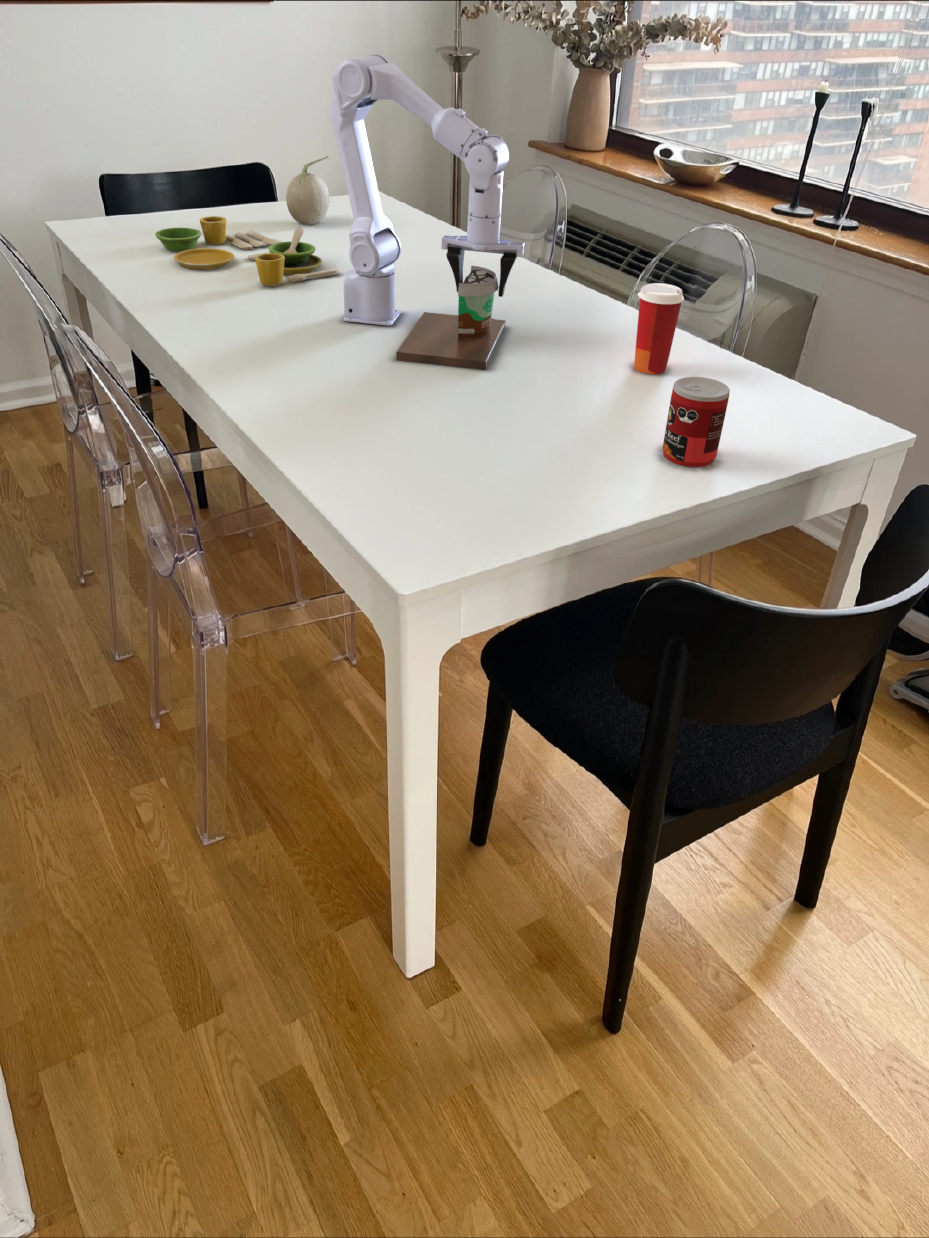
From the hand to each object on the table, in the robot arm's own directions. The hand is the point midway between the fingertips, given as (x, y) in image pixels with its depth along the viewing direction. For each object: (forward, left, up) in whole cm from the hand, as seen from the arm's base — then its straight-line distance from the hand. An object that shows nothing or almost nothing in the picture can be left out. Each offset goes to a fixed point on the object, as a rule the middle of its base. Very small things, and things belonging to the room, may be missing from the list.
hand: (480, 293), depth 178 cm
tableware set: (-59, +32, -9) cm, 67 cm away
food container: (0, 0, -7) cm, 7 cm away
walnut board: (-4, -4, -8) cm, 10 cm away
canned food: (+39, -40, -9) cm, 57 cm away
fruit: (-55, +67, -9) cm, 87 cm away
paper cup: (+32, -6, -9) cm, 34 cm away
